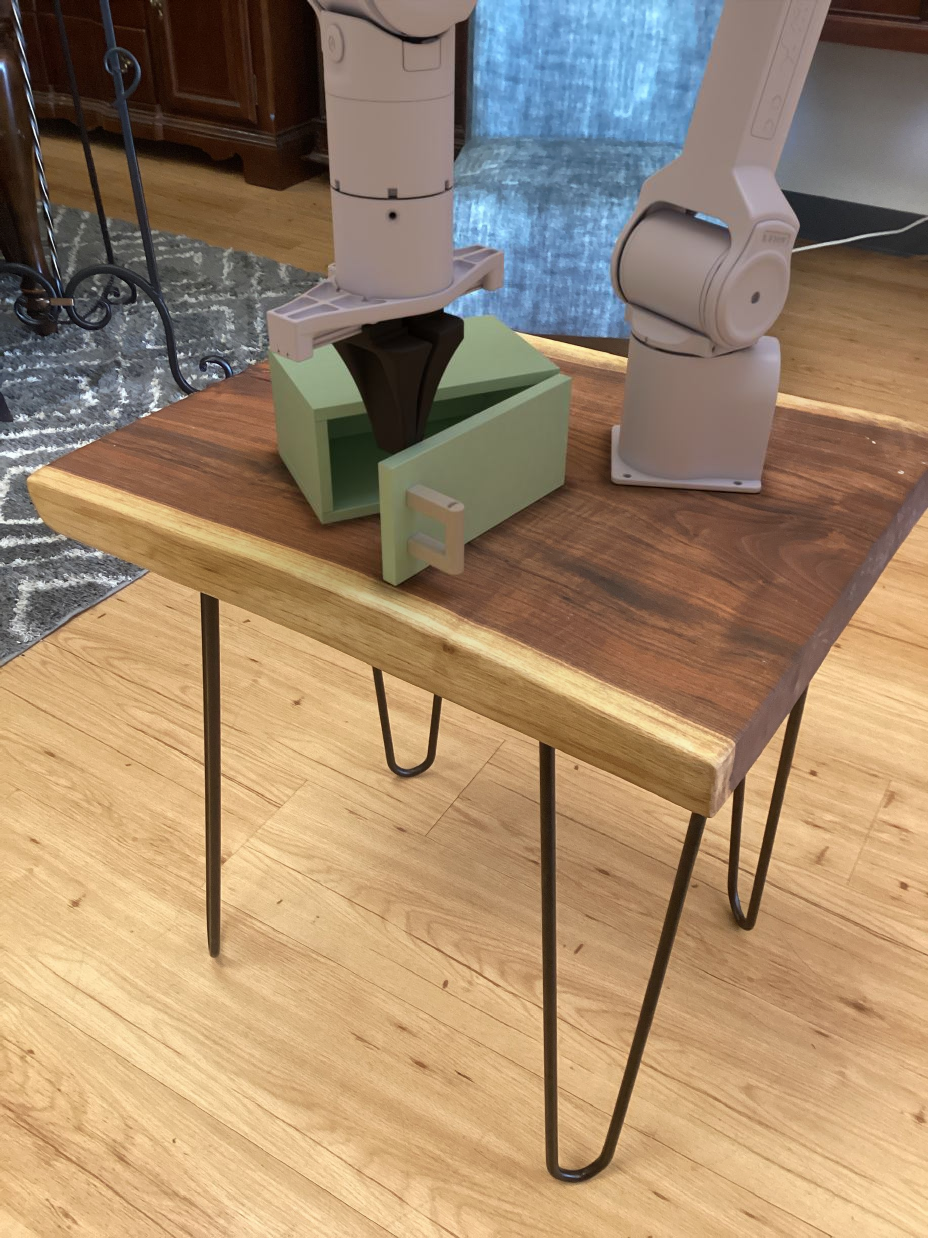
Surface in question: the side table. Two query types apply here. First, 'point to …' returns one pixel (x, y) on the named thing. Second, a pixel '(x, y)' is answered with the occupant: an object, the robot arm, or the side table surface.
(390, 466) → the door
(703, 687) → the side table surface
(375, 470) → the cabinet
